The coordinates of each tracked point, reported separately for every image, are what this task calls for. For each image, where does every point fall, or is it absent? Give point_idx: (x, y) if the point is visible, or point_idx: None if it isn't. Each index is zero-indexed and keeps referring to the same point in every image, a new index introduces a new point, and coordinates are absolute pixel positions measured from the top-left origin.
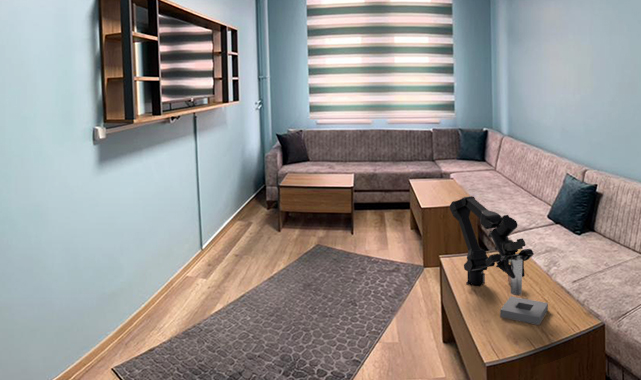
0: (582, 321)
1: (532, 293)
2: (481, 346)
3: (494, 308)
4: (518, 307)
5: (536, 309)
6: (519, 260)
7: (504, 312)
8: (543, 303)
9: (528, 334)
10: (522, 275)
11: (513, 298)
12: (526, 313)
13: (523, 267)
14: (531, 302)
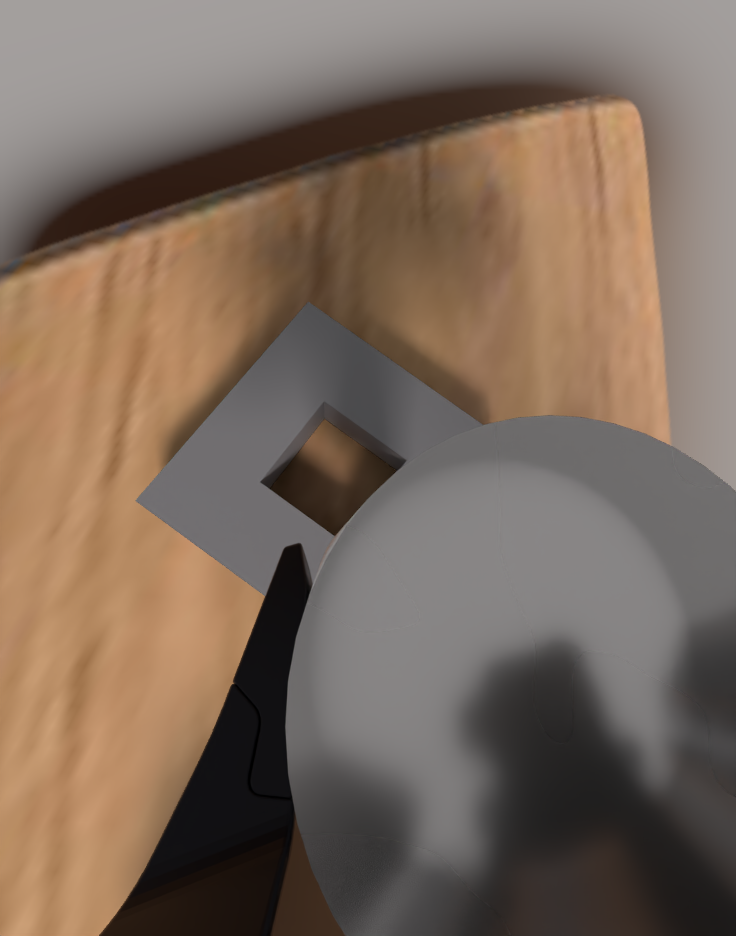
0: (34, 332)
1: (111, 842)
2: (641, 197)
3: None
4: None
5: (273, 411)
6: (513, 478)
7: None
8: (173, 499)
9: (406, 252)
10: (308, 575)
11: None
12: (365, 364)
13: (246, 671)
14: (254, 530)
